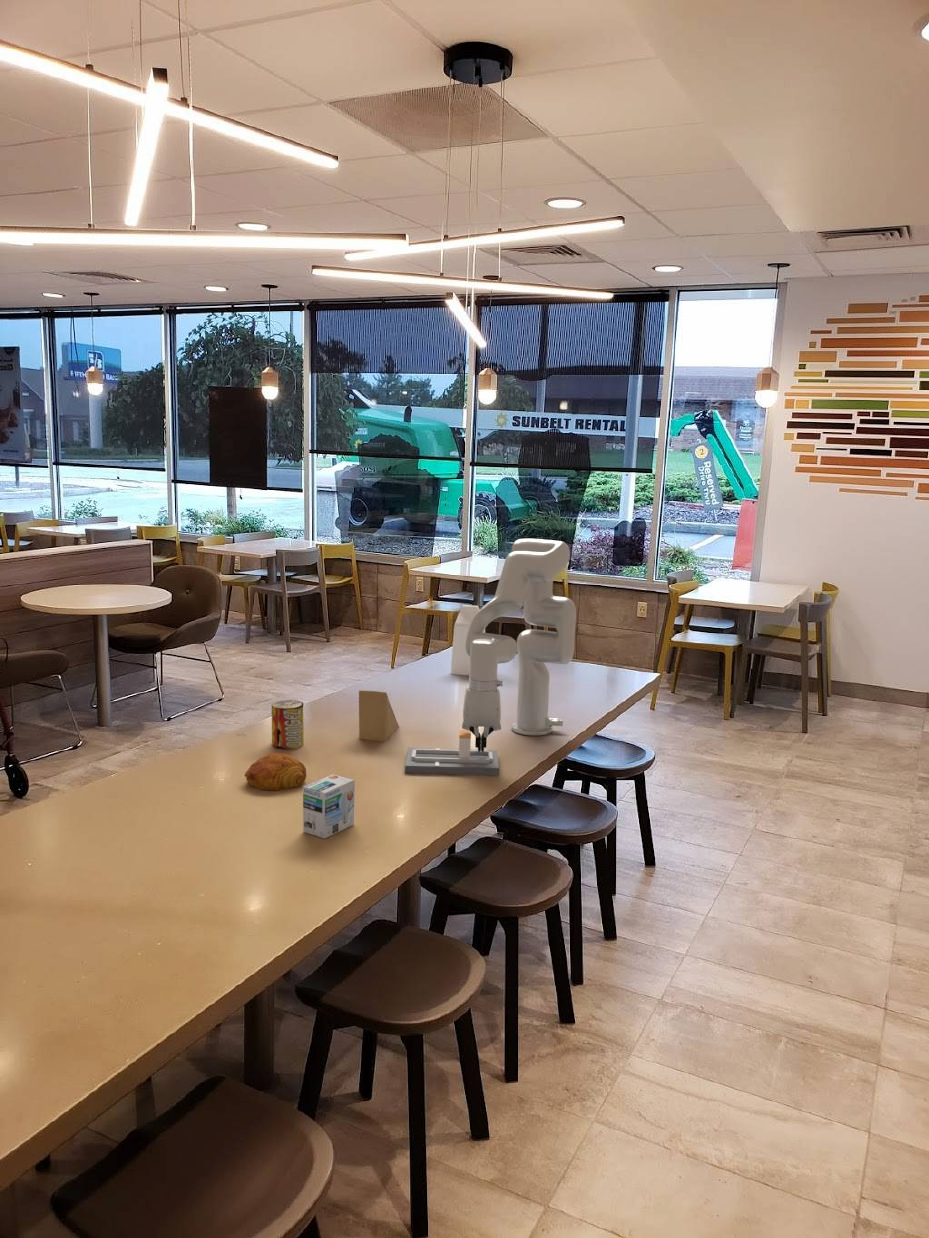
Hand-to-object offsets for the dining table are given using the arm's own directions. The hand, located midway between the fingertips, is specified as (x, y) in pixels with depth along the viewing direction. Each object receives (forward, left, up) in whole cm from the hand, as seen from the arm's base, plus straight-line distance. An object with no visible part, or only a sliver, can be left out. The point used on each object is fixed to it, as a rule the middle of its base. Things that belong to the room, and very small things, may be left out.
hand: (480, 749), depth 254 cm
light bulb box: (+35, +45, -5) cm, 57 cm away
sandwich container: (+30, -28, -5) cm, 41 cm away
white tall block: (+2, -109, -5) cm, 109 cm away
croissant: (+53, +16, -5) cm, 56 cm away
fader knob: (+4, 0, -2) cm, 5 cm away
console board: (+8, 0, -4) cm, 9 cm away
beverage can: (+55, -14, -5) cm, 57 cm away
